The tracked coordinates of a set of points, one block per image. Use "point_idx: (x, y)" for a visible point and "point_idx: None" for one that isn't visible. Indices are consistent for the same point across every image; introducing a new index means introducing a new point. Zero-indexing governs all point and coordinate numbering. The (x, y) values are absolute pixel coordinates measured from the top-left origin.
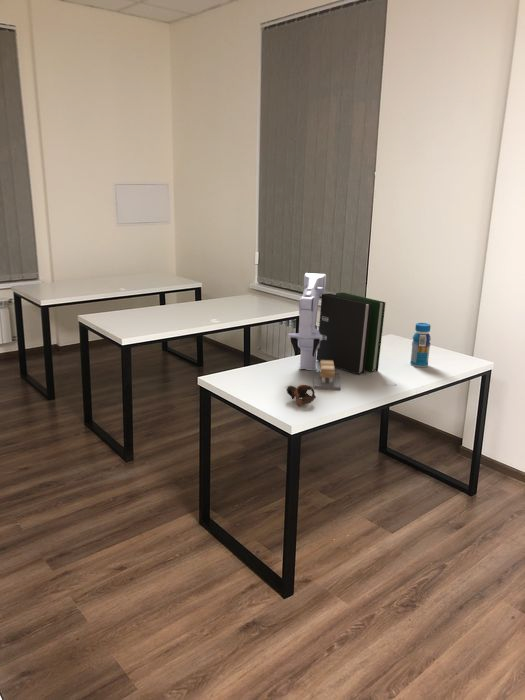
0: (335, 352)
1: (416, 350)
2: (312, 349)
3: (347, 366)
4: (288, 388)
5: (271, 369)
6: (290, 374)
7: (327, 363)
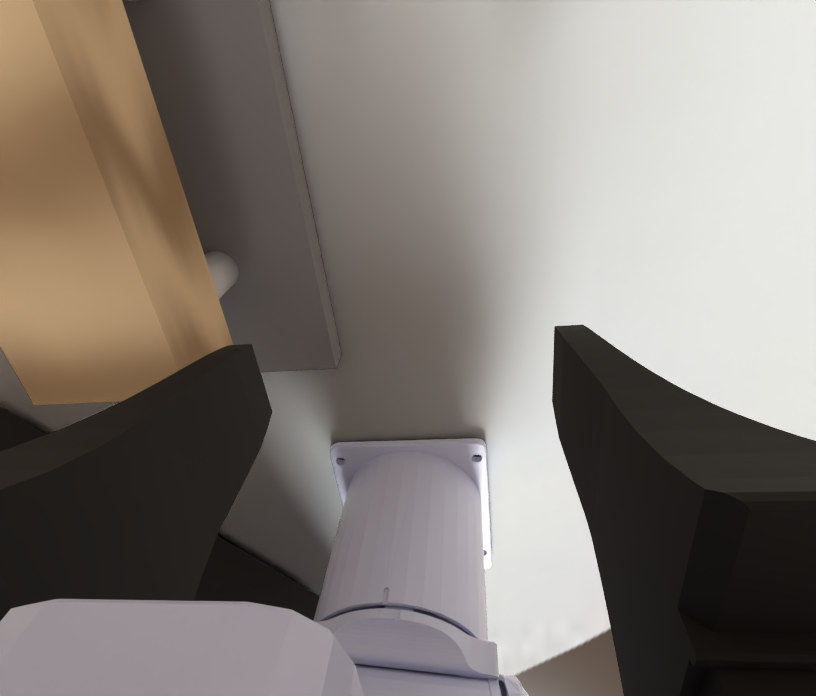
0: None
1: None
2: (337, 632)
3: None
4: None
5: (762, 402)
6: (567, 294)
7: (28, 240)
